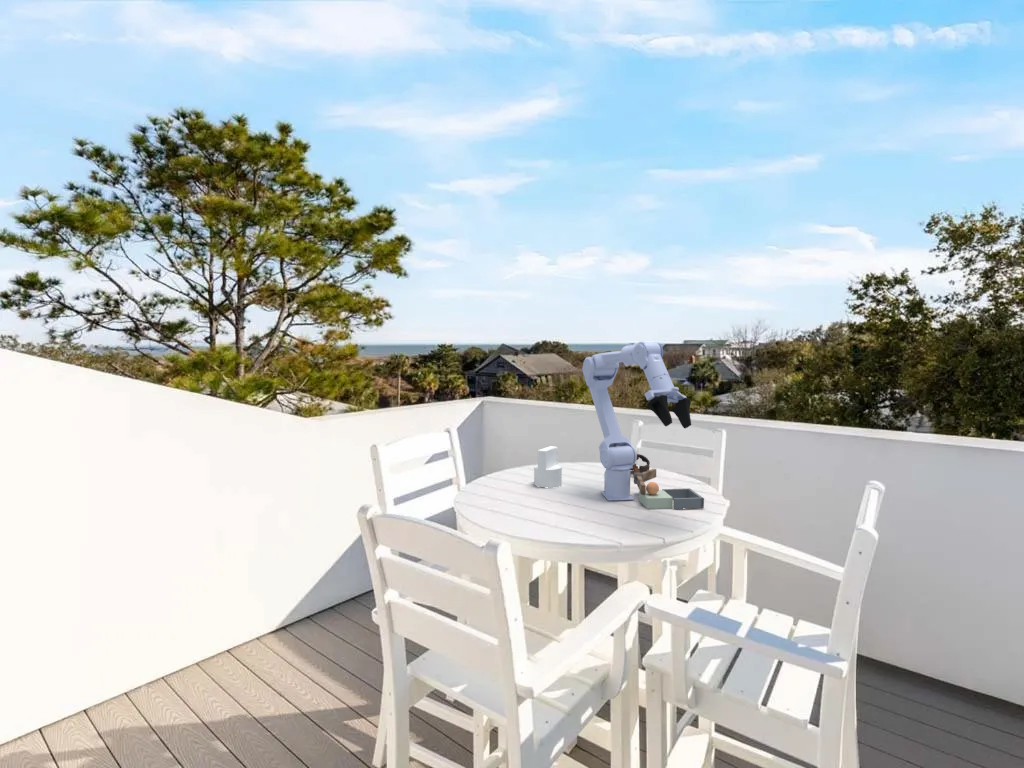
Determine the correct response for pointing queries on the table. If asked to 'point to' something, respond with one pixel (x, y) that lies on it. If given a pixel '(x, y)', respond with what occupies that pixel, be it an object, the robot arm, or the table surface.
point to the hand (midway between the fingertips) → (678, 425)
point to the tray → (685, 498)
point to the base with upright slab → (548, 468)
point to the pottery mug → (641, 468)
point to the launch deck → (656, 500)
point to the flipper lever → (643, 479)
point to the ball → (652, 488)
